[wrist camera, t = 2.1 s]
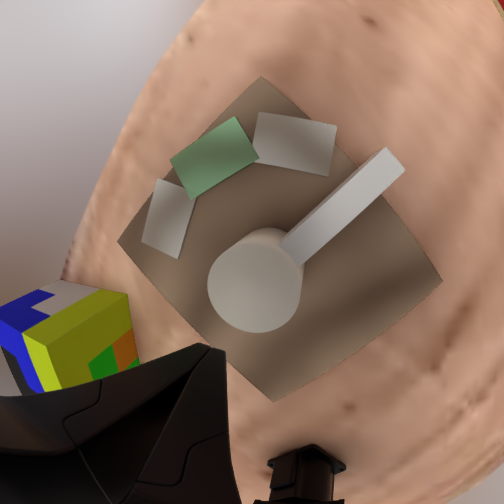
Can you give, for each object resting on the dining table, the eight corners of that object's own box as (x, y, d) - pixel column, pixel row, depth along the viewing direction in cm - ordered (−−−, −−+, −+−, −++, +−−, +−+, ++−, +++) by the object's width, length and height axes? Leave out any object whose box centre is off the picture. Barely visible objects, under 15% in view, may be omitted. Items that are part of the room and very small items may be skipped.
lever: (268, 307, 18) (251, 347, 14) (222, 259, 18) (190, 284, 14) (400, 192, 15) (432, 196, 10) (351, 136, 15) (366, 117, 10)
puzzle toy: (59, 279, 25) (-11, 312, 15) (127, 293, 23) (45, 346, 13) (78, 356, 27) (24, 399, 18) (144, 381, 25) (89, 443, 16)
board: (444, 268, 16) (453, 274, 15) (275, 393, 22) (272, 404, 20) (268, 70, 16) (264, 62, 15) (122, 234, 21) (111, 238, 20)
